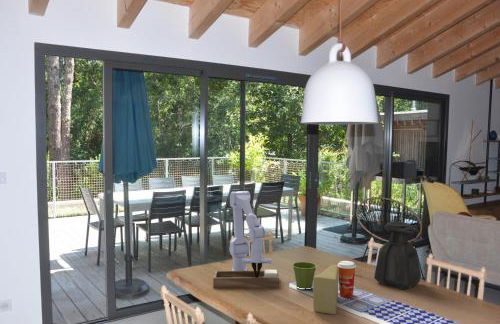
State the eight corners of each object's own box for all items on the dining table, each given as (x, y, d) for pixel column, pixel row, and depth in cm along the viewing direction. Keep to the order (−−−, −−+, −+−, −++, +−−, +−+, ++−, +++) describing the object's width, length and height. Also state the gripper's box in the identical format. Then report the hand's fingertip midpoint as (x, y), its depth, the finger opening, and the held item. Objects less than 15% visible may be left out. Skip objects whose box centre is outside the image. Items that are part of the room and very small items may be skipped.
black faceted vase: (372, 283, 212) (373, 223, 210) (388, 276, 223) (389, 219, 222) (407, 292, 199) (408, 228, 198) (422, 284, 211) (423, 223, 209)
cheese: (325, 294, 197) (325, 262, 196) (346, 297, 193) (346, 264, 192) (312, 311, 176) (312, 275, 176) (335, 315, 172) (336, 278, 172)
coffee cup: (334, 296, 193) (335, 264, 193) (340, 291, 201) (340, 259, 200) (353, 299, 189) (353, 266, 189) (357, 294, 197) (358, 261, 196)
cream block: (264, 277, 215) (264, 269, 215) (276, 277, 215) (276, 269, 215) (264, 281, 209) (264, 273, 209) (277, 281, 209) (277, 273, 209)
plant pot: (316, 293, 198) (316, 269, 198) (290, 291, 200) (290, 267, 200) (317, 284, 210) (317, 262, 209) (293, 283, 212) (293, 260, 212)
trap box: (215, 279, 218) (215, 270, 218) (277, 279, 218) (277, 270, 218) (213, 287, 206) (213, 278, 206) (279, 287, 206) (279, 278, 206)
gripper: (242, 252, 207) (242, 280, 208) (271, 252, 207) (271, 280, 208) (242, 249, 214) (242, 275, 215) (271, 249, 215) (271, 275, 215)
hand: (256, 277), depth 212 cm, fingers closed
